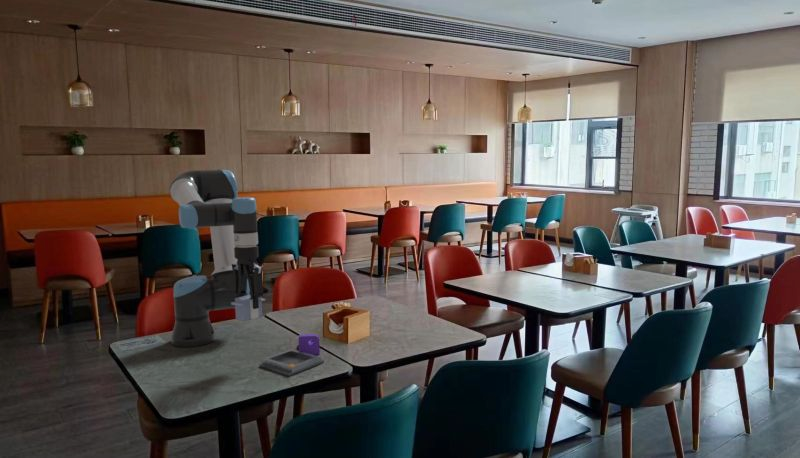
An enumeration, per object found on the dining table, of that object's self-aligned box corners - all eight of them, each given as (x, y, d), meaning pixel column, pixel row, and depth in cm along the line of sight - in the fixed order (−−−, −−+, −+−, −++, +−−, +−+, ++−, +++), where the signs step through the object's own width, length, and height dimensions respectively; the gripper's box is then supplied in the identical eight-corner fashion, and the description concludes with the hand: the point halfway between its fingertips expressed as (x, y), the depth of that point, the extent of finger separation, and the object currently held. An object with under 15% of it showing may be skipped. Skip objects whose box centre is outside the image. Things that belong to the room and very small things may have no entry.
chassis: (259, 366, 193) (259, 358, 192) (294, 354, 204) (294, 346, 204) (289, 376, 184) (288, 367, 184) (323, 362, 196) (323, 354, 196)
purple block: (319, 355, 204) (319, 335, 203) (299, 356, 203) (298, 336, 202) (318, 344, 216) (318, 325, 215) (299, 345, 215) (298, 326, 214)
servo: (231, 320, 193) (230, 296, 192) (257, 314, 200) (256, 291, 200) (240, 322, 190) (239, 298, 189) (265, 316, 198) (265, 292, 197)
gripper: (219, 245, 195) (223, 315, 198) (253, 249, 184) (257, 323, 187) (239, 242, 201) (242, 311, 204) (273, 246, 190) (276, 318, 193)
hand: (249, 316), depth 195 cm, fingers closed on servo, 4 cm apart
